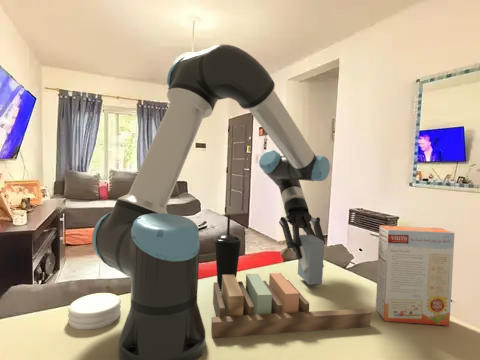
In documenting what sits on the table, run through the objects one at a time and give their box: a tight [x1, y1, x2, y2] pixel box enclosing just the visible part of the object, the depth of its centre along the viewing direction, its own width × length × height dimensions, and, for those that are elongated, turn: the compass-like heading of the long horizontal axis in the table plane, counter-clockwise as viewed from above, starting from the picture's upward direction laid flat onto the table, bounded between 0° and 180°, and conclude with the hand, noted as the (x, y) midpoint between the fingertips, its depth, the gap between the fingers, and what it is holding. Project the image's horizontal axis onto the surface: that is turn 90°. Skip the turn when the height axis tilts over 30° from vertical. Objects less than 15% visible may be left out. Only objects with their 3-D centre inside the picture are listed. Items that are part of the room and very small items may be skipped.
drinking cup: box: [213, 214, 243, 291], centre depth 80 cm, size 8×8×20 cm
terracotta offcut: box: [268, 272, 299, 313], centre depth 67 cm, size 3×12×7 cm, turn 11°
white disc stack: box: [67, 292, 122, 331], centre depth 62 cm, size 10×10×4 cm
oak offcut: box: [220, 274, 244, 316], centre depth 65 cm, size 3×12×7 cm, turn 11°
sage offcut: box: [245, 273, 272, 315], centre depth 66 cm, size 3×12×7 cm, turn 11°
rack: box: [210, 279, 372, 339], centre depth 66 cm, size 34×14×5 cm, turn 101°
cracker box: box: [375, 224, 455, 327], centre depth 67 cm, size 14×6×21 cm, turn 84°
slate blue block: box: [297, 234, 325, 285], centre depth 84 cm, size 4×8×12 cm, turn 10°
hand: (313, 268), depth 82 cm, fingers closed on slate blue block, 4 cm apart
